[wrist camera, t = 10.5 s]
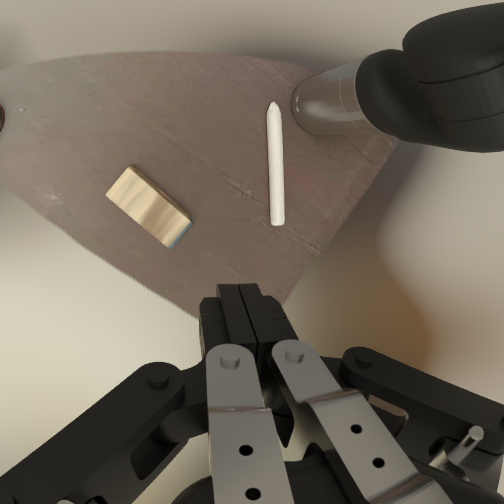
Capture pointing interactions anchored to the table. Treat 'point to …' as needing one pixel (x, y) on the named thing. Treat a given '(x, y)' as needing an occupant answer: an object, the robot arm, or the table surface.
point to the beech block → (150, 207)
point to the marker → (275, 165)
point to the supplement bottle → (1, 117)
